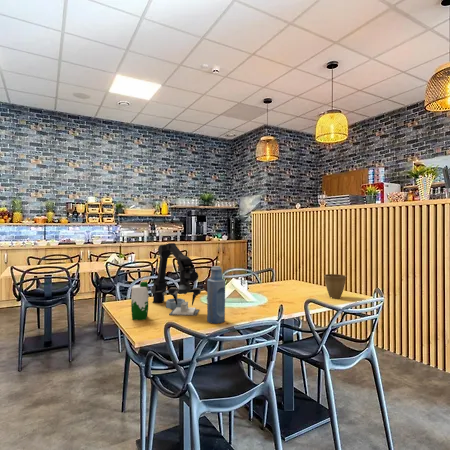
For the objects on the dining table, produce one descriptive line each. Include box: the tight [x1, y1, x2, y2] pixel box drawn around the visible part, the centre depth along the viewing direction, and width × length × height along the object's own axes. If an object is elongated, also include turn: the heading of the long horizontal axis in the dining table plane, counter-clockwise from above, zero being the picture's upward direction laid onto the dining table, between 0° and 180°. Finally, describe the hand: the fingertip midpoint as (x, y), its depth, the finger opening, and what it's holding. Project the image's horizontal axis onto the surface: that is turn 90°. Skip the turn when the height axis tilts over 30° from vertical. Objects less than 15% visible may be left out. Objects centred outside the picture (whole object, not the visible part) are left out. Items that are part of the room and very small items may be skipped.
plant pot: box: [323, 273, 347, 299], centre depth 241 cm, size 15×15×16 cm
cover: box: [172, 301, 197, 316], centre depth 199 cm, size 12×12×5 cm
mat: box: [169, 308, 200, 317], centre depth 199 cm, size 16×12×1 cm
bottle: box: [206, 265, 226, 325], centre depth 182 cm, size 10×10×30 cm
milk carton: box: [130, 281, 149, 321], centre depth 187 cm, size 9×9×20 cm
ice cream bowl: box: [202, 276, 211, 293], centre depth 235 cm, size 11×11×15 cm
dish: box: [165, 297, 186, 310], centre depth 212 cm, size 11×11×4 cm
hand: (184, 305), depth 199 cm, fingers open, 9 cm apart
